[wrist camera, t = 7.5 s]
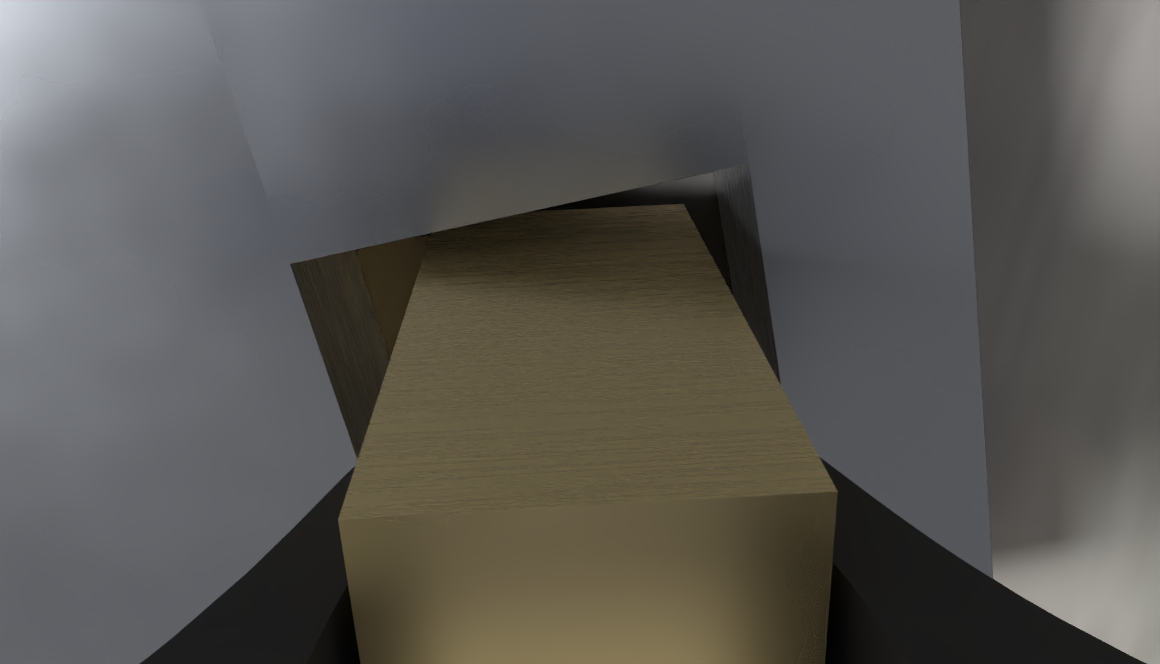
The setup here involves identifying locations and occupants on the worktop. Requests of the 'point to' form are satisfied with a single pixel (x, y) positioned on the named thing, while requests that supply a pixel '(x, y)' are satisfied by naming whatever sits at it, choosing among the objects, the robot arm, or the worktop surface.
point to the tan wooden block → (584, 460)
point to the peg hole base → (421, 206)
